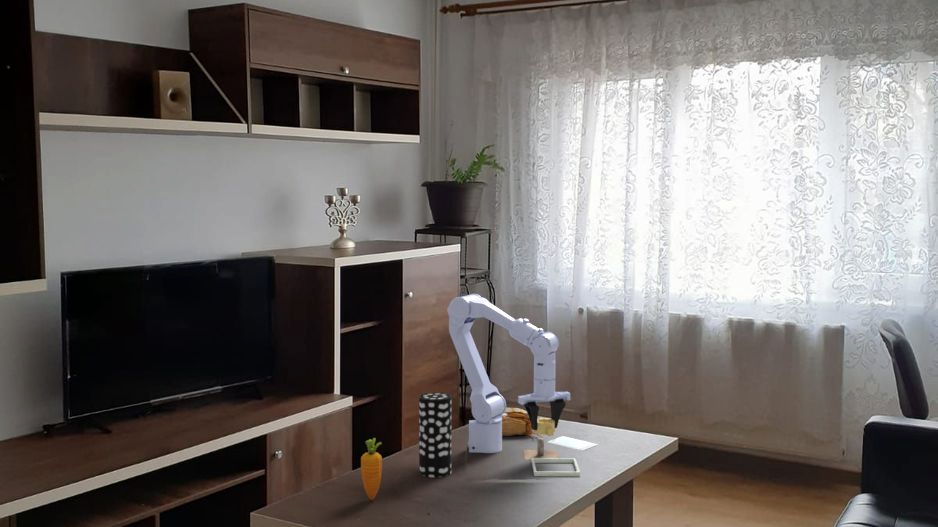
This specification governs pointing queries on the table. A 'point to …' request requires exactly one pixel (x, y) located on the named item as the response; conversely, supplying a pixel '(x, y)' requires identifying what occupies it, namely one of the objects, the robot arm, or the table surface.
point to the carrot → (371, 469)
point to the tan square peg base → (539, 451)
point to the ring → (545, 426)
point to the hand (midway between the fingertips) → (544, 428)
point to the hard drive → (572, 443)
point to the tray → (555, 473)
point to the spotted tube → (435, 434)
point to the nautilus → (516, 422)
